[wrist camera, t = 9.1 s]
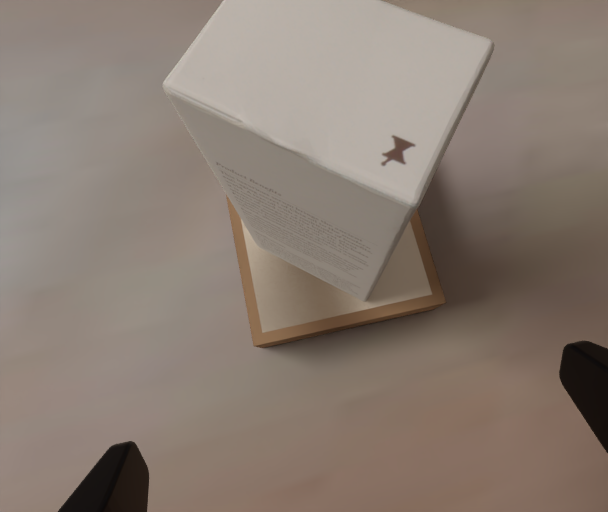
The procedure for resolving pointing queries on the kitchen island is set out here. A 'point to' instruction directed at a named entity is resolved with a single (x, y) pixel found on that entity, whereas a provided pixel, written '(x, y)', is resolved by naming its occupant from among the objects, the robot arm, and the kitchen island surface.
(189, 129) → the skincare box
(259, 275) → the plinth
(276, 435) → the kitchen island surface
